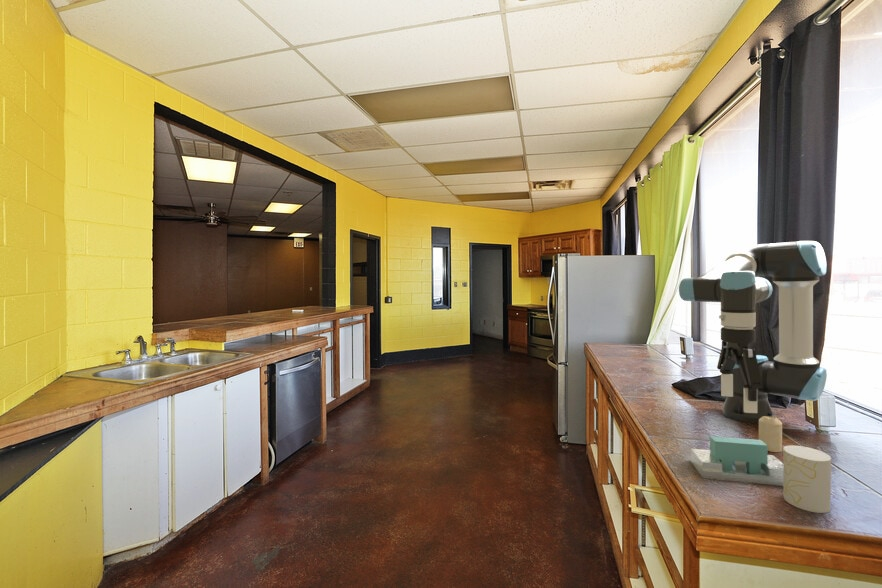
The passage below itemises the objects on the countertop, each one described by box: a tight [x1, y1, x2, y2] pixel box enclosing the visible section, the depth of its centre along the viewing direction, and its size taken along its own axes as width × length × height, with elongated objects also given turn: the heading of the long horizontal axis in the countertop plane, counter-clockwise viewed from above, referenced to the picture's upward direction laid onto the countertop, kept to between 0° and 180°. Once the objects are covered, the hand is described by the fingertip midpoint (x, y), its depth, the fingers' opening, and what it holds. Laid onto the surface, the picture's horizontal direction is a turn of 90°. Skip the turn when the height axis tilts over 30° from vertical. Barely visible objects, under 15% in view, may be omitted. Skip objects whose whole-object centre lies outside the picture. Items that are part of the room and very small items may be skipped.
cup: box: [782, 445, 832, 514], centre depth 91 cm, size 8×8×12 cm
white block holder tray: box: [689, 448, 783, 487], centre depth 105 cm, size 20×10×4 cm, turn 74°
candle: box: [758, 416, 783, 453], centre depth 118 cm, size 6×6×10 cm
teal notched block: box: [709, 435, 769, 474], centre depth 105 cm, size 12×4×8 cm, turn 74°
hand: (738, 403), depth 105 cm, fingers open, 13 cm apart
